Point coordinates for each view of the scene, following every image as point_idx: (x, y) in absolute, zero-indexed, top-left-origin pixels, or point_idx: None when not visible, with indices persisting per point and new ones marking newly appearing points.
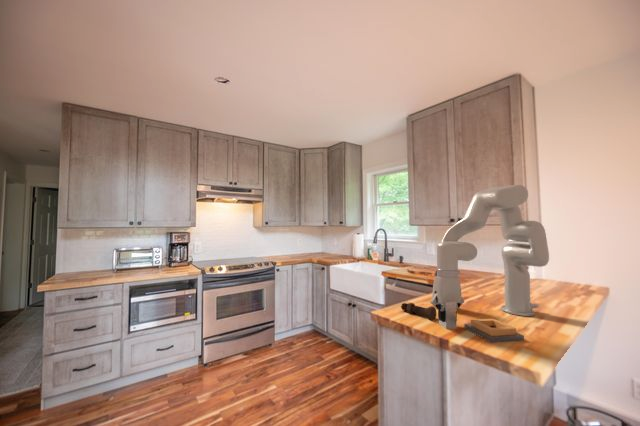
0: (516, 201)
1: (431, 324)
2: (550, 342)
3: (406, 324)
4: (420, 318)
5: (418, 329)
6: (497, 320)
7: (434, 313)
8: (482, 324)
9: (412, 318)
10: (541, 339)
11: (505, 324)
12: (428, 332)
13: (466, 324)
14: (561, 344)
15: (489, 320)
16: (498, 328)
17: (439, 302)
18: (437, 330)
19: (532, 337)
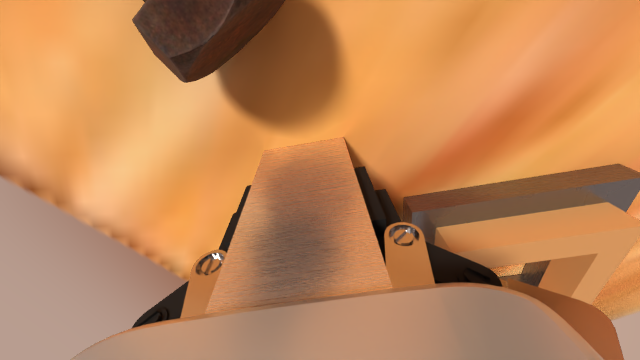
0: None
1: (207, 154)
2: (622, 299)
3: (17, 161)
4: (122, 3)
5: (113, 228)
6: (624, 254)
7: (258, 15)
8: None
9: (34, 6)
10: (627, 284)
11: (587, 296)
12: (168, 256)
13: (417, 220)
14: (636, 308)
15: (570, 256)
16: None
17: None
18: (223, 234)
19: (618, 272)
